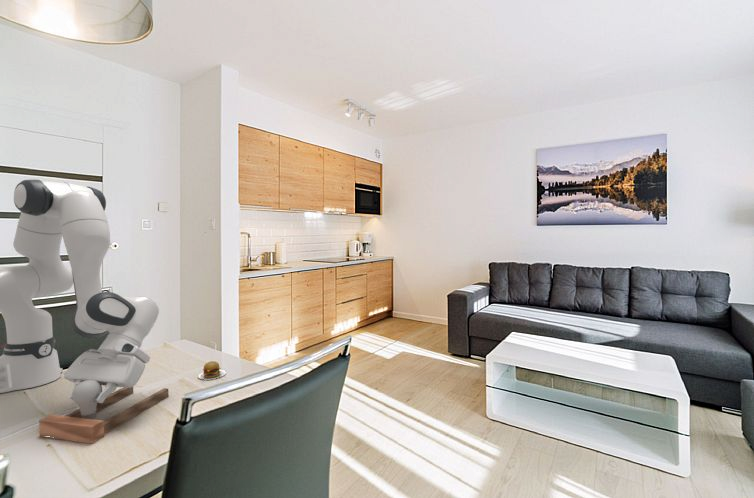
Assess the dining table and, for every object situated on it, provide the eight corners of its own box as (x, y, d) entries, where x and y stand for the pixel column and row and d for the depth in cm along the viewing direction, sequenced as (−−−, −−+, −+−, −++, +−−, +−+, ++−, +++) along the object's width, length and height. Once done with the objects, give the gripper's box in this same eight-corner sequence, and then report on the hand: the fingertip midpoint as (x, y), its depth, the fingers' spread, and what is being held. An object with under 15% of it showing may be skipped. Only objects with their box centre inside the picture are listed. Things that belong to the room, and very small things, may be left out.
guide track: (127, 392, 114) (126, 379, 114) (170, 396, 111) (170, 383, 111) (39, 436, 90) (39, 420, 90) (92, 443, 87) (91, 427, 87)
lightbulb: (103, 414, 98) (101, 374, 98) (104, 423, 93) (102, 381, 93) (74, 422, 94) (71, 380, 94) (73, 432, 90) (70, 387, 89)
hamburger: (237, 371, 133) (237, 356, 133) (218, 385, 121) (217, 369, 121) (206, 369, 135) (206, 355, 135) (185, 383, 123) (184, 367, 123)
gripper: (79, 343, 102) (42, 392, 93) (142, 347, 98) (110, 399, 89) (94, 353, 106) (61, 401, 97) (155, 358, 103) (126, 409, 93)
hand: (85, 400), depth 93 cm, fingers closed on lightbulb, 6 cm apart
